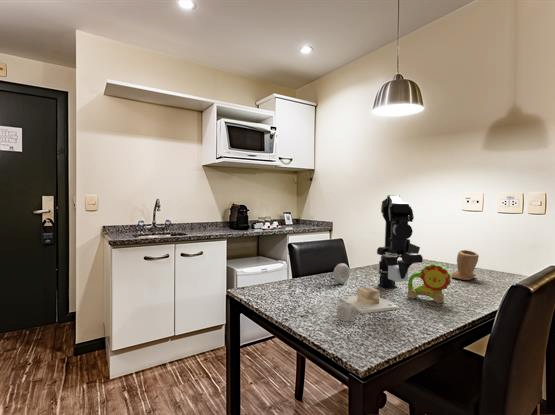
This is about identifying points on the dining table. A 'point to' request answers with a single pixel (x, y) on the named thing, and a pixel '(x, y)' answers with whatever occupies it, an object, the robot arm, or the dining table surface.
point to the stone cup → (466, 265)
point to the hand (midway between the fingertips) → (397, 276)
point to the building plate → (364, 308)
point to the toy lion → (430, 282)
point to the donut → (338, 270)
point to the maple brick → (368, 295)
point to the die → (346, 312)
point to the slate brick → (396, 274)
